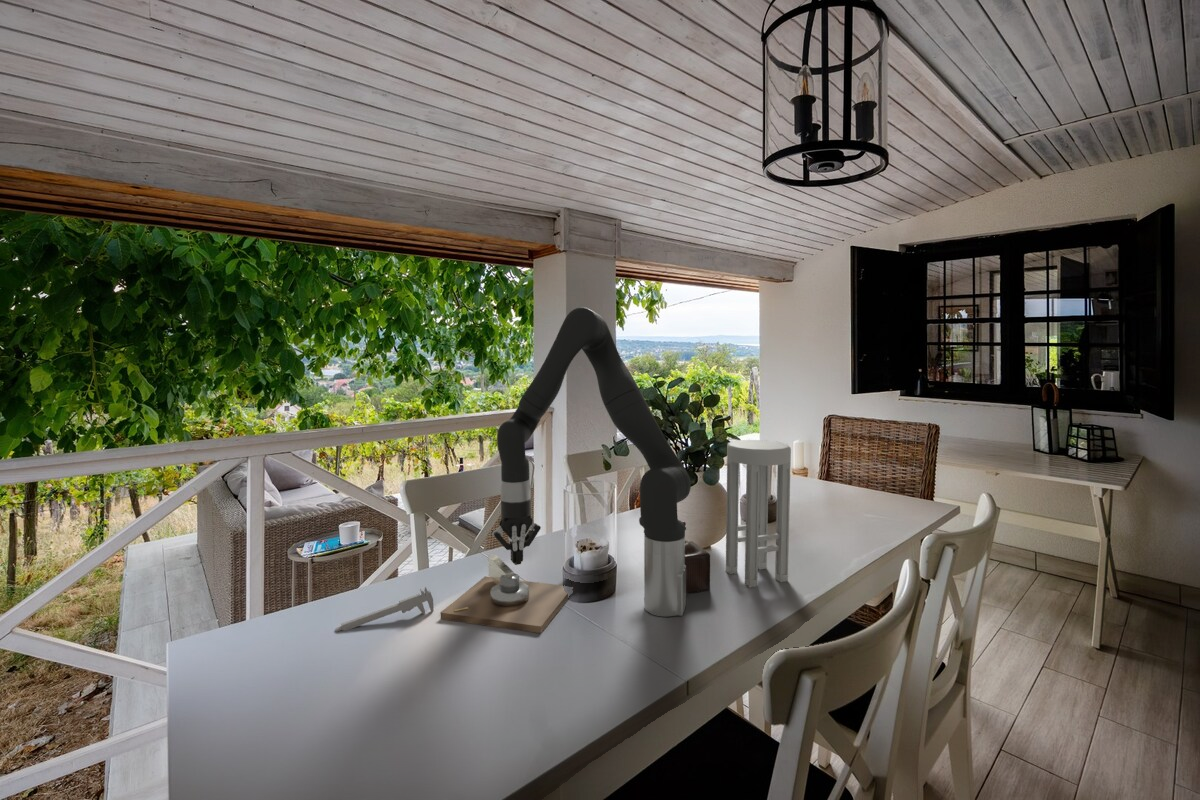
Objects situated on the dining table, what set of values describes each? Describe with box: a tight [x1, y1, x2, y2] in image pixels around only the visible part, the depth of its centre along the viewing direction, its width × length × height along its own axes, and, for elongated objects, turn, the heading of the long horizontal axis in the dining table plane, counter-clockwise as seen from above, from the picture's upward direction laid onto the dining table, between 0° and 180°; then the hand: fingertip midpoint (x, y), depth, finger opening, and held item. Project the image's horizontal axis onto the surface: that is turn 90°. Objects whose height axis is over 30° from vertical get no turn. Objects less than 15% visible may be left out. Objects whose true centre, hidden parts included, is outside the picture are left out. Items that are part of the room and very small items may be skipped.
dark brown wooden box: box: [638, 516, 711, 595], centre depth 143 cm, size 16×11×18 cm
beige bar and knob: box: [487, 554, 530, 606], centre depth 137 cm, size 18×9×6 cm, turn 29°
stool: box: [725, 439, 792, 588], centre depth 148 cm, size 16×16×35 cm
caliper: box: [334, 586, 435, 633], centre depth 126 cm, size 20×1×6 cm, turn 116°
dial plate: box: [439, 576, 569, 634], centre depth 134 cm, size 24×21×2 cm
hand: (516, 563), depth 146 cm, fingers closed
